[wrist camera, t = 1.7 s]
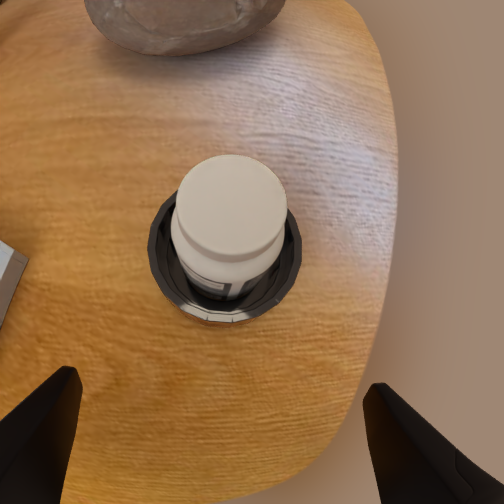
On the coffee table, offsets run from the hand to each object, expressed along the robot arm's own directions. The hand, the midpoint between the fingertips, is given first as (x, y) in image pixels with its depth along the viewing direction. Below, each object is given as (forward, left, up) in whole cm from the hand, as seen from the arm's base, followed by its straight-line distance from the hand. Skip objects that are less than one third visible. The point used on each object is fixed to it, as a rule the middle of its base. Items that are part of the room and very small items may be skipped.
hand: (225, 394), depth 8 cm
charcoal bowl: (+7, +2, -13) cm, 15 cm away
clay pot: (+30, +17, -13) cm, 37 cm away
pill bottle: (+7, +2, -13) cm, 15 cm away
